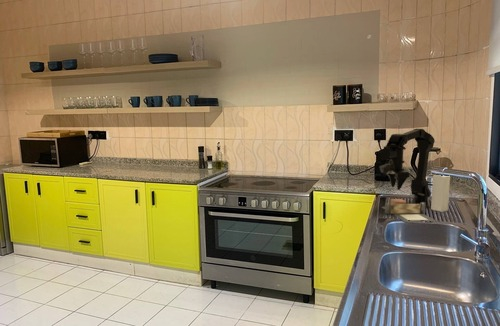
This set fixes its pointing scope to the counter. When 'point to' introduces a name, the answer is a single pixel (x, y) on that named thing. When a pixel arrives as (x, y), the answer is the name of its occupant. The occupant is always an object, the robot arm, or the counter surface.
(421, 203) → the olive long rounded piece
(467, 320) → the counter surface
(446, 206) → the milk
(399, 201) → the block
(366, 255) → the counter surface
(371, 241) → the counter surface
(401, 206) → the tan wooden bar
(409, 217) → the grey panel
